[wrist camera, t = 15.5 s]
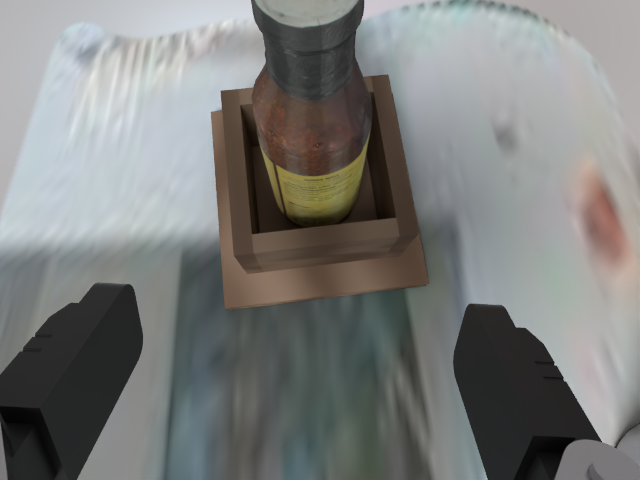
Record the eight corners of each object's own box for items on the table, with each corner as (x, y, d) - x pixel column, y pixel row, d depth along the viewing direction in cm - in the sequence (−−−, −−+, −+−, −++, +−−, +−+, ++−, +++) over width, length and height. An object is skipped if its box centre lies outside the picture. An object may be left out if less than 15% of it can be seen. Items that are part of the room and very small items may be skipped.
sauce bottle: (372, 198, 34) (452, -8, 15) (313, 252, 33) (319, 102, 14) (314, 142, 35) (319, -117, 16) (255, 192, 34) (185, -24, 15)
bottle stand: (390, 101, 38) (407, 43, 31) (424, 285, 34) (454, 266, 27) (214, 119, 37) (191, 64, 30) (227, 310, 33) (205, 297, 26)
